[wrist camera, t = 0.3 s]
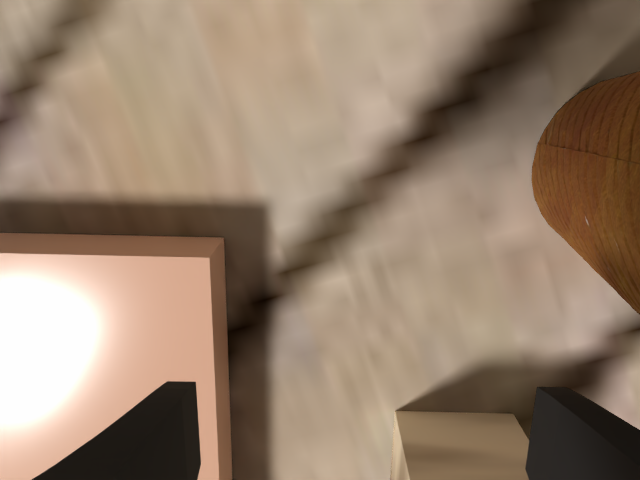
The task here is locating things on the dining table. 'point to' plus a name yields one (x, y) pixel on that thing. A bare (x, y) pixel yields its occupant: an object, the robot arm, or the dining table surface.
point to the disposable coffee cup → (596, 180)
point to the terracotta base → (107, 340)
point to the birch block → (458, 446)
